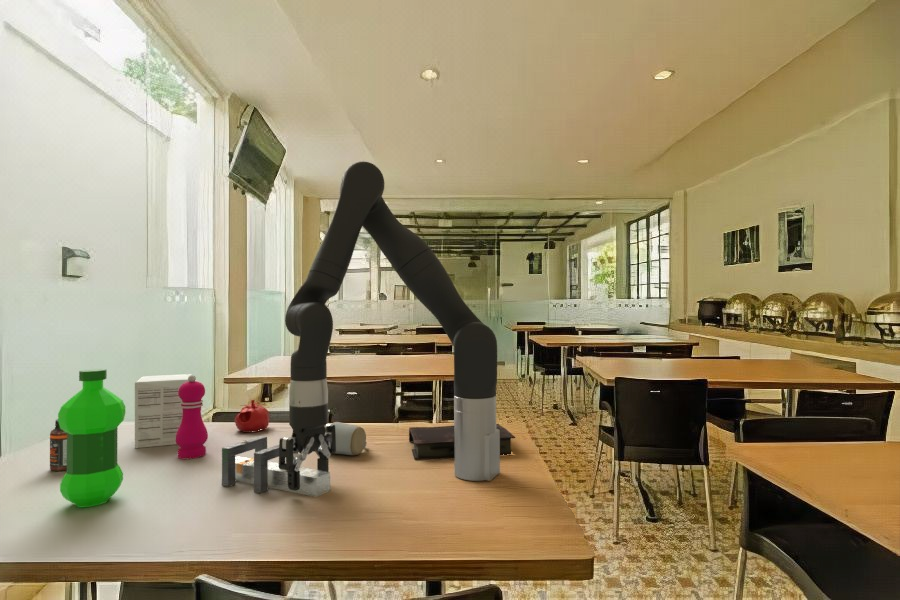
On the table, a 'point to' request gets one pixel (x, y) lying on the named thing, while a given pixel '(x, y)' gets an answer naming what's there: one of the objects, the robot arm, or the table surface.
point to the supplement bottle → (58, 448)
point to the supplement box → (158, 409)
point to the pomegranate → (252, 418)
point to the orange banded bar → (284, 477)
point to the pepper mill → (191, 421)
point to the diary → (445, 442)
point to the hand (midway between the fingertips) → (309, 482)
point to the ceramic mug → (349, 439)
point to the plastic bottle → (91, 441)
